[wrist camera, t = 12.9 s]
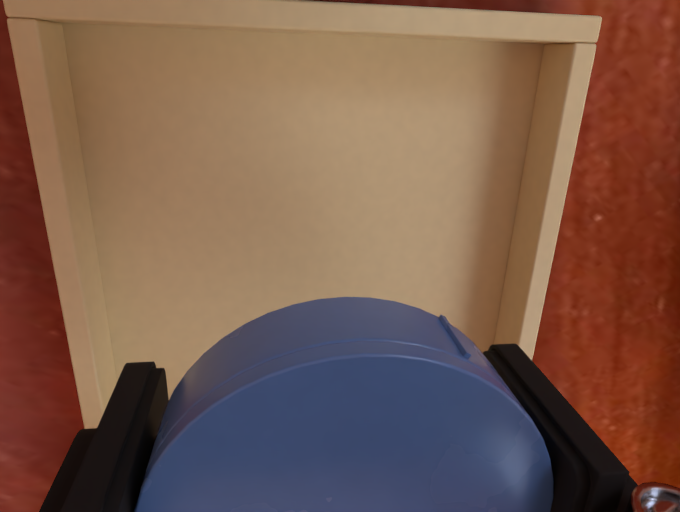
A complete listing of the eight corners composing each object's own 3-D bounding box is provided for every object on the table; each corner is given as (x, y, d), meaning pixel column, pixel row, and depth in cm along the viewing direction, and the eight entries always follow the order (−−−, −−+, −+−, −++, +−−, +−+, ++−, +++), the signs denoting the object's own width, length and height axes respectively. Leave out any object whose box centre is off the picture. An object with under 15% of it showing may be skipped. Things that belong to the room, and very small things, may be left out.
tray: (474, 493, 20) (496, 540, 18) (128, 525, 18) (112, 581, 16) (556, 21, 14) (604, 16, 12) (41, -5, 12) (-2, -17, 10)
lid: (272, 222, 8) (273, 267, 6) (575, 384, 10) (639, 451, 8) (95, 522, 10) (57, 622, 8) (385, 607, 12) (405, 703, 10)
